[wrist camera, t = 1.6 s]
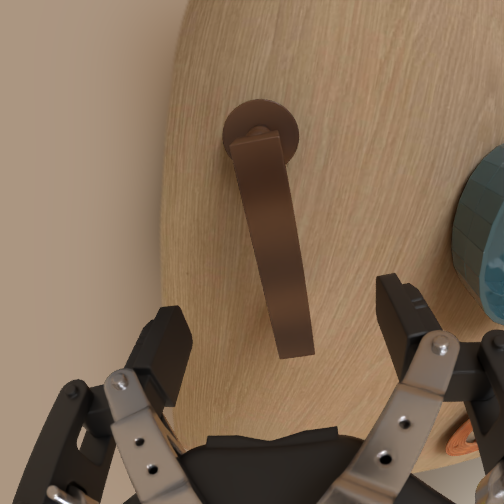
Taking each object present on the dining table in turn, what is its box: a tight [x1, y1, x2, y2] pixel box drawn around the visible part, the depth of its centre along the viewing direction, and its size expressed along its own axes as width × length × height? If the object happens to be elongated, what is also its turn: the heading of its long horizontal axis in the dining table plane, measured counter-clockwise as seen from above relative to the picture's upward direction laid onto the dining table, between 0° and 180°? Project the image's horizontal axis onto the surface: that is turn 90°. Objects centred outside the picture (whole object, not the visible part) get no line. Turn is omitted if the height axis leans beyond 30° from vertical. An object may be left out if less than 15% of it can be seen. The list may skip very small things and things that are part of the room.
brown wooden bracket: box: [223, 99, 315, 359], centre depth 21 cm, size 16×5×9 cm, turn 12°
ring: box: [446, 419, 479, 456], centre depth 39 cm, size 25×25×2 cm
